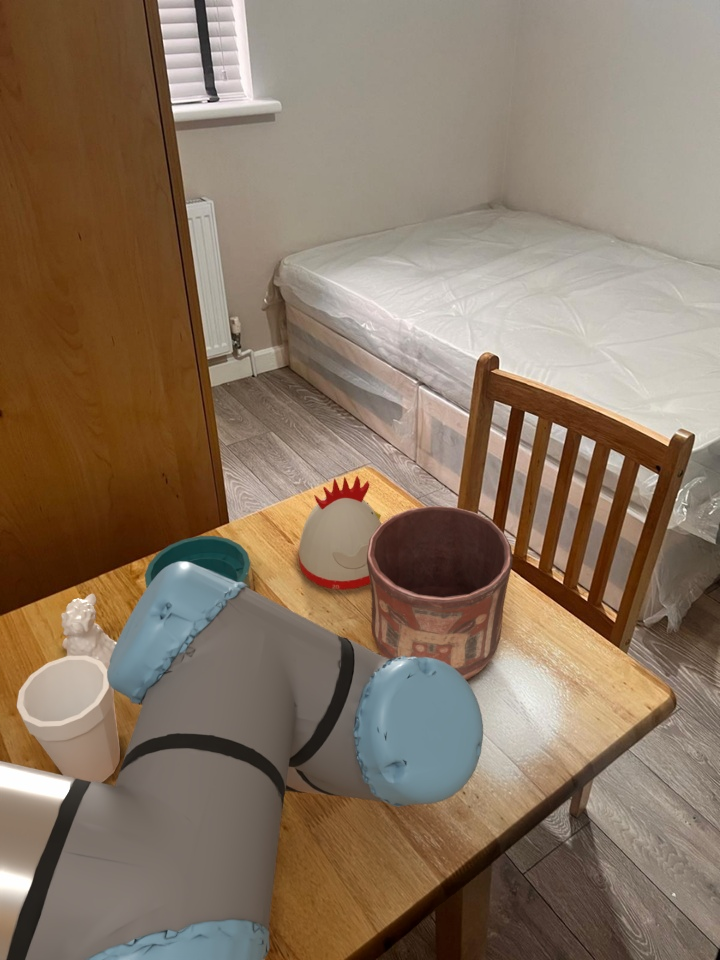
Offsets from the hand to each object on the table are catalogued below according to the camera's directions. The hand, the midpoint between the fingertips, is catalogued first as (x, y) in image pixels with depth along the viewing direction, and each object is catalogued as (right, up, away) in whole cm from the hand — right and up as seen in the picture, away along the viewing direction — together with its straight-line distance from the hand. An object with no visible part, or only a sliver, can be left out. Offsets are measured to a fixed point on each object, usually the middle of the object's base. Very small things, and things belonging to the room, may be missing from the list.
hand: (211, 738), depth 68 cm
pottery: (+24, +1, +30) cm, 38 cm away
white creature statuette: (-22, -1, +29) cm, 37 cm away
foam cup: (-17, -9, +17) cm, 26 cm away
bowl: (-9, +7, +39) cm, 41 cm away
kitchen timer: (+11, +12, +46) cm, 49 cm away
